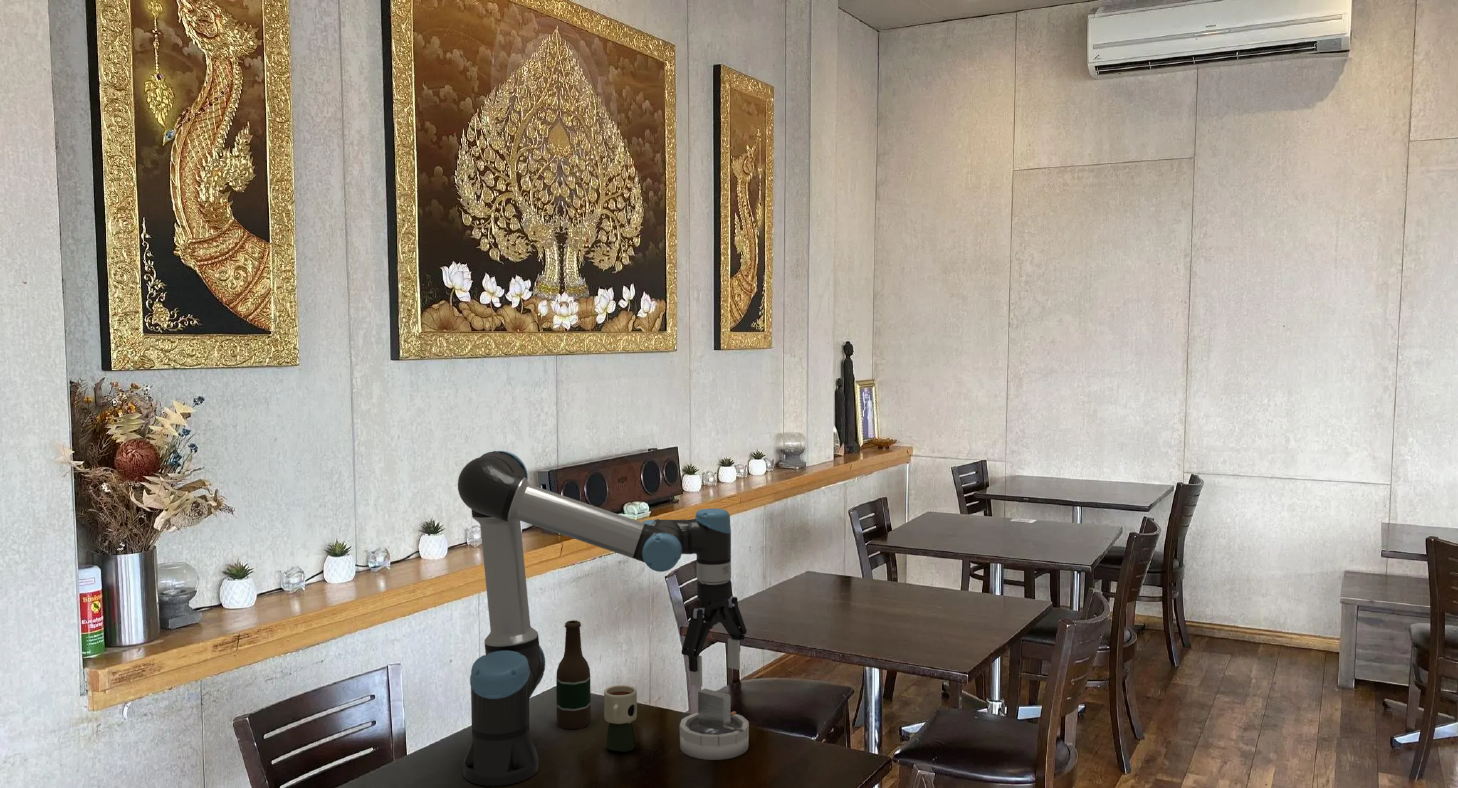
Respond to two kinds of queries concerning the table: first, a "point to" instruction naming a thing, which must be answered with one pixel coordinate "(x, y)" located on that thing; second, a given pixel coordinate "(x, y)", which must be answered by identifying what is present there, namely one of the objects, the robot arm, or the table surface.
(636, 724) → the table surface
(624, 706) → the character mug
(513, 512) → the robot arm
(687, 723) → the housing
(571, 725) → the beer bottle
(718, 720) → the dial
